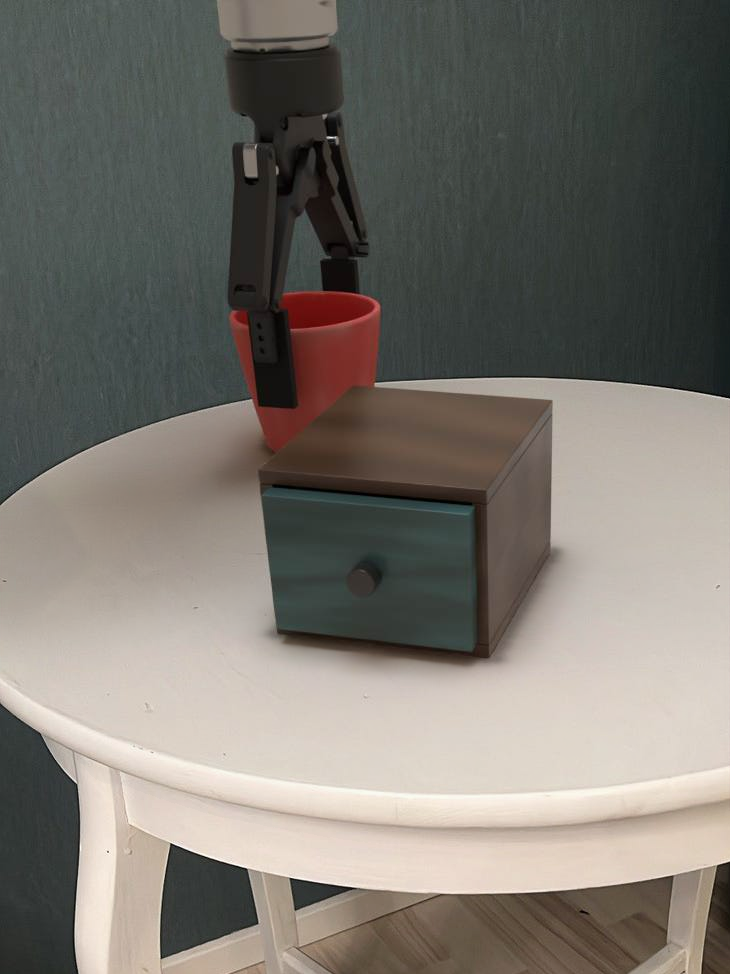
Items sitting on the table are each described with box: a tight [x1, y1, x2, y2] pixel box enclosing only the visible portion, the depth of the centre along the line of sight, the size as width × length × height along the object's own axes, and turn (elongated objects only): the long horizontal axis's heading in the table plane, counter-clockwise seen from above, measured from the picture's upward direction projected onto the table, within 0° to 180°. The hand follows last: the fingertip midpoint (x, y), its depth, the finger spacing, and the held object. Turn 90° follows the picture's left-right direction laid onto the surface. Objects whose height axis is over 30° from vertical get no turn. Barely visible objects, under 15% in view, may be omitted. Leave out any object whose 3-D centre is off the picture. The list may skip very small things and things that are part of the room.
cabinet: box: [257, 385, 554, 658], centre depth 78 cm, size 15×13×10 cm
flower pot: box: [229, 290, 382, 454], centre depth 100 cm, size 11×11×10 cm
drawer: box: [260, 486, 478, 652], centre depth 76 cm, size 15×11×8 cm
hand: (314, 376), depth 100 cm, fingers open, 13 cm apart
